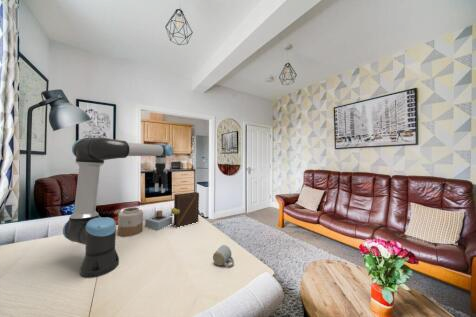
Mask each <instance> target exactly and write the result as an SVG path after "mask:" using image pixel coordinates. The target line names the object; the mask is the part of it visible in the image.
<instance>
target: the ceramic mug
mask: <svg viewBox="0 0 476 317" xmlns="http://www.w3.org/2000/svg"><path fill="white" fill-rule="evenodd" d="M212 260H213V262H214V264H215V265H216V266H223V265H224V266H226V267H227V268H231V267H233V266H234V263H235V261H234V259H233V256H232V250H231V249H230V247H229V246H228V245H226V244H223V245H221V246H219V248H218V249H217V250H216V251H215V252H214V253H213V256H212ZM229 260H230V261H231V264H229V263H227V261H229Z"/></svg>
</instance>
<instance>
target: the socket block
mask: <svg viewBox="0 0 476 317" xmlns="http://www.w3.org/2000/svg"><path fill="white" fill-rule="evenodd" d="M170 224H172V225H173V216H169V215H165V214H162V218H160V219H156V215H154V216H150V217H148V218H145V219H144V227H145V228H147V227H148V228H147V229H150V228H151V230H154V229H155V230H154V231H157V230H158V231H160V229H161V230H162V228H163V229H165V228H167V227H169V226H168V225H170ZM166 226H167V227H166ZM170 226H171V225H170ZM164 227H165V228H164Z"/></svg>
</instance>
